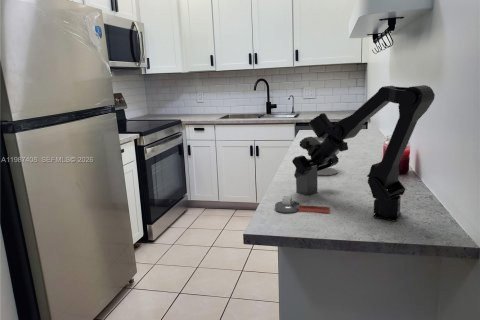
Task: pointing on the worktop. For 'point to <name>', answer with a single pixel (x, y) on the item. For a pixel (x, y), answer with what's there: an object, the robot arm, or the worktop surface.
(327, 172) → the chalice
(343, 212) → the worktop surface
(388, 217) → the robot arm
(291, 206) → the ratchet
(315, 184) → the brushed metal block
